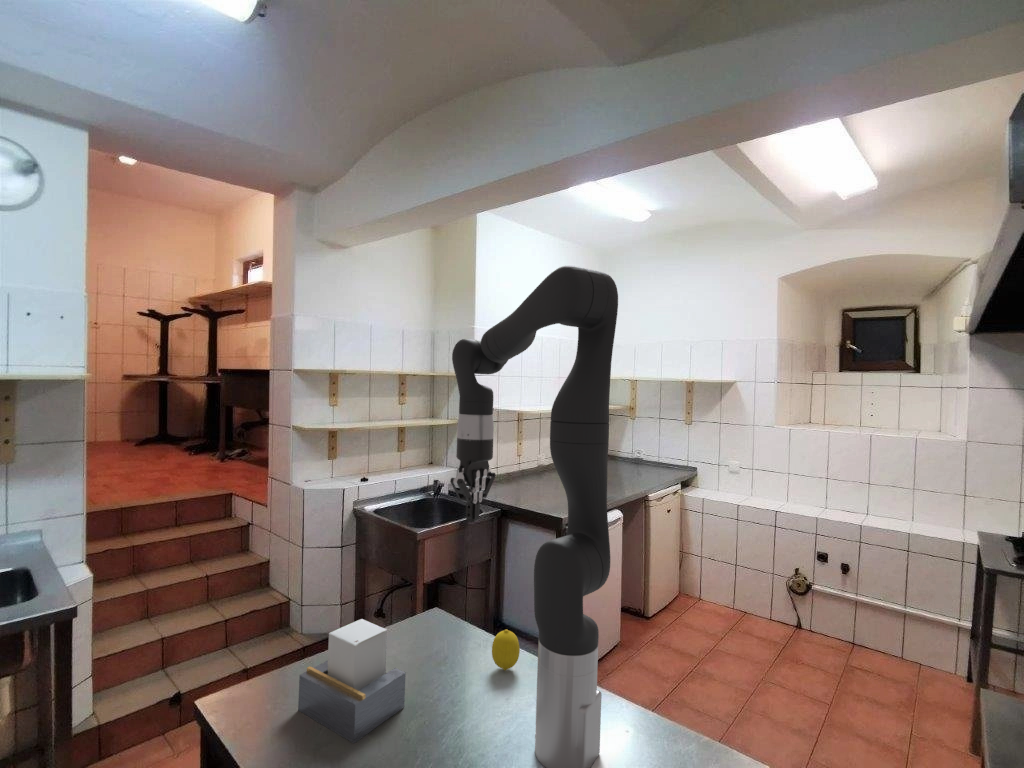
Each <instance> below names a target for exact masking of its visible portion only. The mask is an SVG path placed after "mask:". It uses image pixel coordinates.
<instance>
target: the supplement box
mask: <svg viewBox="0 0 1024 768" xmlns="http://www.w3.org/2000/svg"><path fill="white" fill-rule="evenodd" d="M387 640H388V629H387V628H384V627H381V626H380V625H377V624H375V623H372V622H370V621H368V620H366V619H363V618H360V619H358V620H356V621H353V622H351V623H349V624H347V625H346V624H345V625H344V626H342V627H339V628H338V629H335V630H332V631H331V632H328V646H327V648H328V649H327V651H328V653H327V660H328V674H327V675H328V676H330V677H332V678H334V679H336V680H338V681H340V682H342V683H344V684H346V685H348V686H350V687H352V688H354V689H356V690H360V689H362V688H363V687H365V686H366V685H368V684H370V683H371V682H373V681H375V680H376V679H378V678H379V677H381V676H383V675H384V674H386V673H387V648H388V647H387V643H388V642H387Z"/></svg>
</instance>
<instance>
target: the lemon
mask: <svg viewBox="0 0 1024 768" xmlns="http://www.w3.org/2000/svg"><path fill="white" fill-rule="evenodd" d="M520 652H521V651H520V642H519V638H518V637H517V635H516V634H515V633H514V632H513V631H511V630H508V629H504V630H501V631H499V632H498V633H497V634H496V635H495V636H494V639H493V641H492V645H491V657H492V660H493V662H494V663H495V665H496V666H497V667H499V668H500V669H502V671H504V672H505V671H507V670H509V669H511V668H513V667H514V666H515V665H516V664H517V662H518V660H519V657H520Z"/></svg>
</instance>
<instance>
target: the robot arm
mask: <svg viewBox="0 0 1024 768" xmlns="http://www.w3.org/2000/svg"><path fill="white" fill-rule="evenodd" d="M618 310H619V293H618V288H617V284H616V281H615V280H614V278H612V276H611V275H609V274H607V273H605V272H602V271H598V270H594V269H589V268H585V267H580V266H576V265H563V266H559V267H558V268H556V269H554V270H553V271H551V273H549V274H548V275H547V276H546V277H545V278H544V279H543V280H542V281H541V282H540V283H539V284H538V285H537V286H536V288H534V290H532V292H531V293H530V294H529V295H528V296H527V297H526V298H525V299H524V300H523V301H522V303H521V304H519V305H518V307H517V308H516V309H515V310H513V312H511V314H509V315H508V316H507V317H505V318H503V319H502V320H501V321H499V322H498V323H496V324H495V325H493V326H492V327H490V328H489V329H487V330H486V331H485V332H484V333H483V334H482V337H481V339H471V338H462V339H459V340H458V341H457V343H456V344H455V345H454V347H453V349H452V353H451V361H452V366H453V370H454V374H455V377H456V378H455V379H456V383H457V388H458V394H459V402H458V404H459V407H458V420H457V424H456V425H457V428H456V429H457V431H456V453H455V454H456V458H457V460H459V463H460V464H459V467H458V474H457V475H456V477H451V478H450V484H451V486H452V488H453V490H454V492H455V493H456V496H457V498H458V500H459V501H463V502H465V519H466V521H467V522H471V523H474V522H478V521H479V520H480V512H481V511H480V509H481V508H480V507H481V503H482V501H483V499H486V498H487V497H488V495H489V492H490V490H491V487H492V485H493V483H494V480H495V478H496V472H492V471H491V470H490V464H489V461H492V459H493V458H494V433H495V431H494V430H495V429H494V428H495V423H494V391H493V389H492V388H491V387H489V386H487V385H483V384H480V383H479V382H478V380H477V377H476V375H494V374H497V373H499V372H500V371H501V370H502V369H503V368H504V366H505V365H506V364H507V363H508V362H509V360H511V359H512V358H514V357H516V356H519V355H520V354H522V353H524V352H525V351H526V350H528V348H530V346H531V345H532V344H533V343H534V341H535V337H536V335H537V331H539V330H541V329H543V328H546V327H549V326H552V325H557V324H560V325H562V326H567V327H573V328H574V327H575V328H577V331H578V332H577V333H578V334H577V335H578V336H577V346H576V347H577V348H576V355H575V360H574V363H573V365H572V367H571V370H570V371H569V374H568V375H567V377H566V379H565V380H564V382H563V384H562V386H561V388H560V389H559V391H558V392H557V395H556V397H555V399H554V401H553V404H552V407H551V412H550V423H549V424H550V427H549V428H550V429H549V430H550V431H549V449H550V450H549V451H550V456H551V460H552V462H553V465H554V467H555V471H556V472H557V475H558V477H559V480H560V482H561V484H562V487H563V489H564V492H565V495H566V500H567V529H566V534H565V535H564V536H561V537H557V538H553V539H551V540H548V541H545V542H544V543H543V544H541V546H540V547H539V549H538V550H537V551H536V555H535V559H534V565H533V596H534V597H533V601H534V604H533V605H534V608H533V610H534V611H533V612H534V618H535V619H534V620H535V622H536V625H537V628H538V643H537V644H538V648H537V649H538V650H537V651H538V652H537V677H536V699H535V701H536V705H535V706H536V707H535V730H534V731H535V734H534V739H535V740H534V754H535V756H536V758H537V760H538V762H540V764H541V765H542V766H543V767H545V768H591V767H592V765H593V764H594V763H595V761H596V760H597V758H598V756H599V755H600V754H601V753H600V752H601V751H600V749H601V724H602V723H601V719H602V718H601V717H602V713H601V712H602V691H600V690H598V666H599V665H598V663H599V661H598V660H599V637H600V636H599V627H598V624H597V623H596V621H595V620H594V619H593V618H592V617H590V616H588V615H587V614H584V597H586V596H588V595H589V594H593V593H594V592H596V591H598V590H599V589H601V588H602V587H603V586H604V585H605V584H606V582H607V580H608V578H609V576H610V571H611V547H610V545H611V543H610V535H609V533H610V532H609V519H608V517H609V516H608V458H609V456H608V455H609V442H610V441H609V440H610V438H609V437H610V436H609V435H610V391H611V389H610V388H611V376H612V374H611V373H612V359H613V351H614V342H615V341H614V340H615V335H616V334H615V333H616V326H617V321H618V320H617V318H618Z"/></svg>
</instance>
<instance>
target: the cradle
mask: <svg viewBox="0 0 1024 768" xmlns="http://www.w3.org/2000/svg"><path fill="white" fill-rule="evenodd" d="M406 673H407V672H406V671H403V670H401V669H399V668H397V667H393V669H391V670H389V671H387V672H386V674H384V675H383V676H381V677H379V678H378V679H376V680H375V681H373V682H371V683H370V684H368V685H366V686H365V687H363V688H362V689H360V690H356V689H354V688H352V687H350V686H348V685H346V684H344V683H342V682H340V681H338V680H336V679H334V678H332V677H330V676H328V675H327V674H328V659H327V660H325V661H324V662H322V663H320V664H318V665H316V666H314V667H313V666H310V665H309V666H308V667H306V671H304V672H303V673H300V674H299V679H298V680H299V685H298V704H297V711H298V712H301V714H303V713H304V714H303V715H304V716H307V717H308V718H310V719H312V720H314V722H317V723H318V724H320V725H321V726H323V727H326V728H327V729H329V730H330V731H332V732H333V733H335V734H336V735H339V736H340V737H342V738H344V739H346V740H347V741H349V742H351V743H352V744H355V743H357V742H359V740H361V739H362V738H364V737H365V736H367V734H369V733H370V732H372V731H373V730H375V729H376V728H378V727H379V726H380V725H381V724H383V723H384V722H385V721H387V720H388V719H390V718H391V717H393V716H394V715H395V714H397V713H398V712H399V711H401V710H403V709H404V708H405V701H406V700H405V698H406V697H405V696H406V675H407V674H406Z"/></svg>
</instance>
